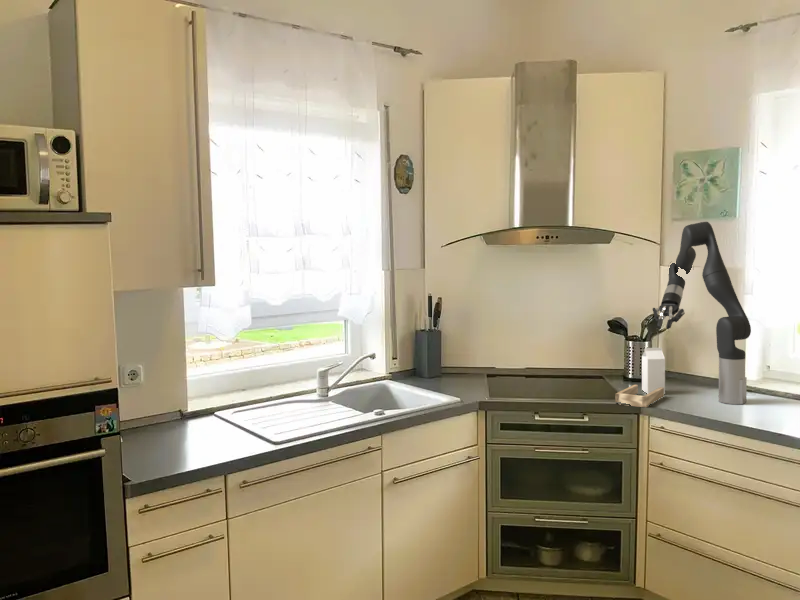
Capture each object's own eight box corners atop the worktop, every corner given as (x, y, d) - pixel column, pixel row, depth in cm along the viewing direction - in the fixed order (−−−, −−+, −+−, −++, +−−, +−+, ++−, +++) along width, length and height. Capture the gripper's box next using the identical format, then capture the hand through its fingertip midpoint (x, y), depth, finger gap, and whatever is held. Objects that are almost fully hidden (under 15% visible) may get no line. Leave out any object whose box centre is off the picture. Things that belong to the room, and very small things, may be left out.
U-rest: (663, 397, 275) (663, 387, 274) (646, 407, 259) (646, 397, 259) (634, 394, 282) (634, 384, 282) (615, 403, 266) (615, 393, 266)
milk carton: (665, 394, 279) (665, 349, 278) (647, 395, 279) (647, 349, 278) (658, 391, 286) (658, 346, 285) (641, 391, 286) (641, 346, 285)
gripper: (654, 291, 301) (644, 321, 293) (687, 291, 293) (678, 323, 284) (658, 302, 306) (649, 332, 297) (690, 303, 297) (682, 334, 289)
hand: (663, 327), depth 291 cm, fingers open, 3 cm apart
